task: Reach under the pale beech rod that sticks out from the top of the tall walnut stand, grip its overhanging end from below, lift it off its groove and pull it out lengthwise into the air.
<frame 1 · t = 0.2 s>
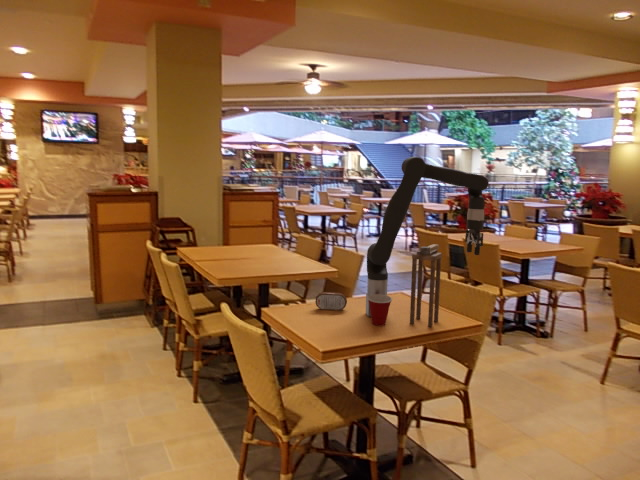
hand: (472, 253, 246), 29 cm above the table, tool pointing down, fingers open, 8 cm apart
plastic cup: (378, 324, 231), on the table
tin: (330, 310, 253), on the table
walnut stand: (424, 322, 234), on the table
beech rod: (430, 252, 234), point 31 cm above the table, touching walnut stand
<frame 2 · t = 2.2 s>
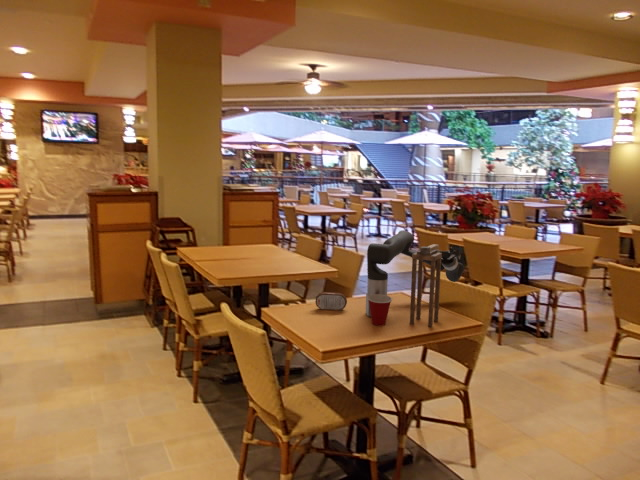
hand: (441, 248, 250), 30 cm above the table, tool pointing upward, fingers open, 8 cm apart
nothing on the table moved.
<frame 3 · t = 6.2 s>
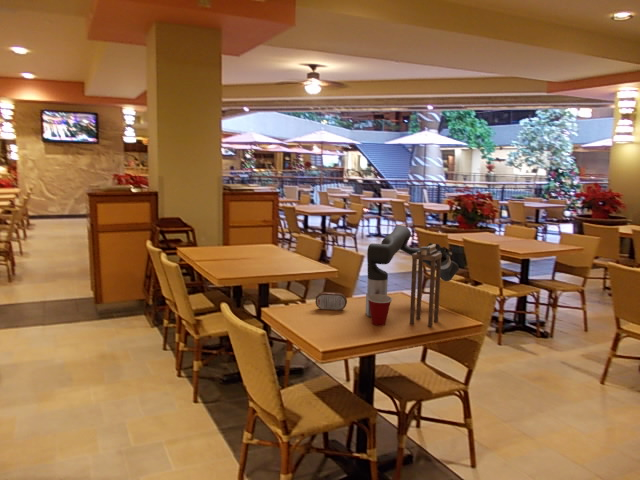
hand: (433, 245, 237), 34 cm above the table, tool pointing upward, fingers closed on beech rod, 2 cm apart
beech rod: (429, 252, 234), point 31 cm above the table, touching gripper, walnut stand
everything else where it was.
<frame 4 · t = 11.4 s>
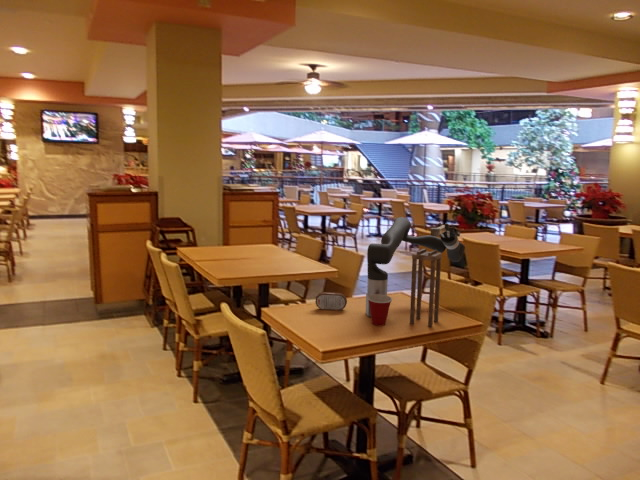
hand: (442, 225, 248), 41 cm above the table, tool pointing upward, fingers closed on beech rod, 2 cm apart
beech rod: (439, 233, 245), point 38 cm above the table, touching gripper
everything else where it was.
at the end: the gripper is holding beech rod; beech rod moved 15.8 cm from its start; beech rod touching gripper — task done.
